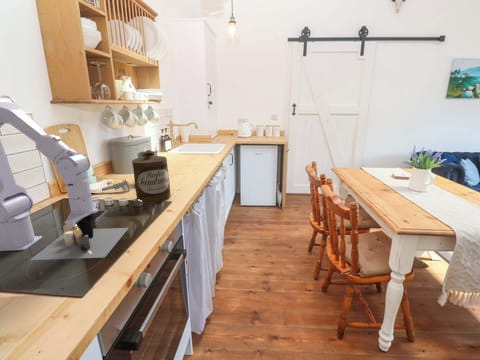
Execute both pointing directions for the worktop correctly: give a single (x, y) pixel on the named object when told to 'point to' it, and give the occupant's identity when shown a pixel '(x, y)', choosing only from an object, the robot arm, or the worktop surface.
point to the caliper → (118, 186)
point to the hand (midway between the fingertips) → (88, 238)
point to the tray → (100, 216)
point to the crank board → (70, 250)
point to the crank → (79, 237)
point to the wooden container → (151, 178)
